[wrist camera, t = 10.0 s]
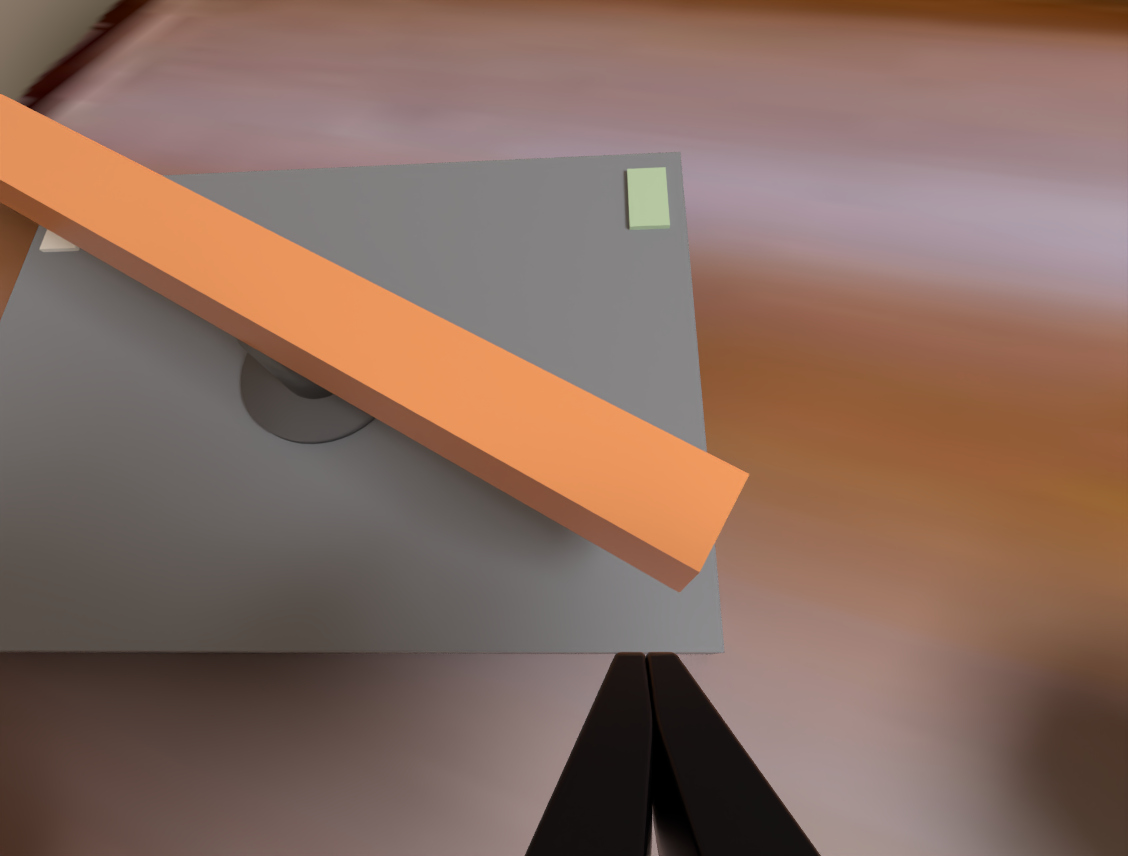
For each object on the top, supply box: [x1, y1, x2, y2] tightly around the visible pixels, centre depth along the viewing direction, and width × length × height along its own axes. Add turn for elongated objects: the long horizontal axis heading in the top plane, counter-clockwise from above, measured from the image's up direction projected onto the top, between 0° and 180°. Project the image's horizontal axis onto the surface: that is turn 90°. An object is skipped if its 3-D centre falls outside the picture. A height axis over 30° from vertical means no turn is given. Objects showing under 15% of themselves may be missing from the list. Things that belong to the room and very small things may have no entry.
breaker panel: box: [0, 152, 724, 654], centre depth 24 cm, size 20×28×3 cm
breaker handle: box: [0, 94, 749, 593], centre depth 20 cm, size 3×30×7 cm, turn 59°
